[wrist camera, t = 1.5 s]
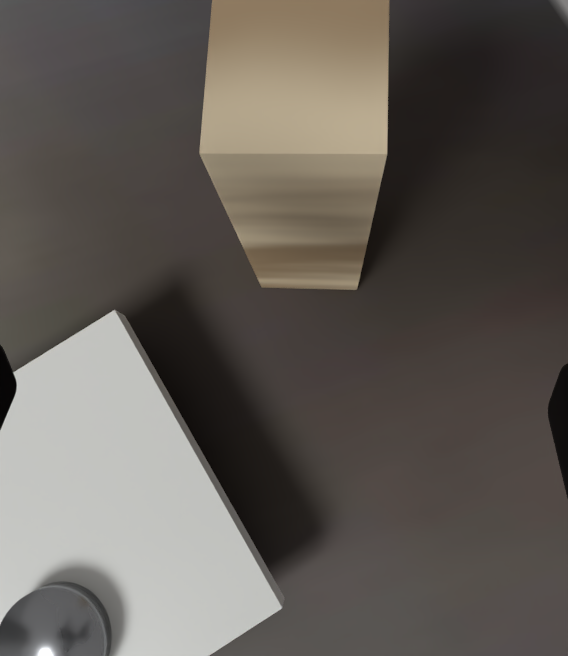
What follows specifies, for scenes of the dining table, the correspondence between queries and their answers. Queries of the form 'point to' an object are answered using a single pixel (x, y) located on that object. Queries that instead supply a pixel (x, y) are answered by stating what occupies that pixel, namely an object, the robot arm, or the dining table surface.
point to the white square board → (122, 502)
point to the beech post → (298, 132)
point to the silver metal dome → (56, 623)
